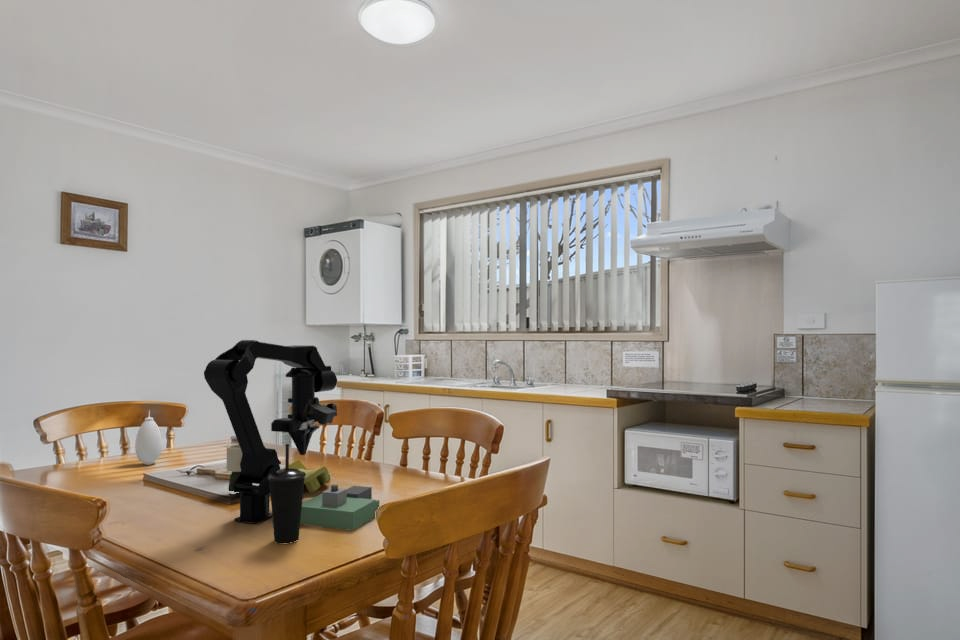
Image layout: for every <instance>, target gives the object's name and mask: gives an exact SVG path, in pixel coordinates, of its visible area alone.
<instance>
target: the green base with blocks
mask: <svg viewBox="0 0 960 640" xmlns="http://www.w3.org/2000/svg"><path fill="white" fill-rule="evenodd" d="M347 489H348V488H339V484H331V485H330V488H328V489H326V490H324V491H322V492H321V493H320V494H318V495H316V496H314V497H312V498H310V499H307V500H305V501H302V509H301V520H300V525H302V524H305V525H304V526H311V525H313V526H312V527H320V526H321V528H329V529H330V528H331V529H337V528H338V529H337V530H346V529H347V530H348V531H355V530H357V529H358V528H360V527H361V526H363V525H364V524H367V523H368V522H369V521H371V520H373V519H374V518H376V517H375V511H376V512H377V510H378V509H377V508H378V507H379V508H380V500H379V499H363V498H353V497H347ZM376 509H377V510H376ZM354 529H355V530H354Z"/></svg>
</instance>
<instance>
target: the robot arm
mask: <svg viewBox="0 0 960 640" xmlns="http://www.w3.org/2000/svg"><path fill="white" fill-rule="evenodd" d="M257 359H262V360H269V361H277V362H282V363H283V364H284V365H287V366H289V367H291V369H289V371H288V372H286V374H285V378H291V397H289V398H288V399H287V403H291V412H290V414H287V417H282V418H276V419H273V420H272V422H271V424H270V428H271V429H270V431H271V432H280V433H288V434H289V436H290V438H291V440H292V442H293V444H294V445H295V447H296V449H297V452H298V454H299V455H300V456H305V455H306V454H307V451H308V447H309V445H310V442H311V438H312V436H313V434H314V432H316V431H317V430H318V429H320V427H321V426H320V425H322V426H323V425H325V426H326V425H327V424H333V421H334V418H335V417H337V416H338V409H337V408H338V407H337V404H335V403H334V402H330V403H329V402H328V403H327V404H326V405H325V404H320V398H319V397H317V396H316V395H315V393H320V392H321V393H322V392H328V391H333V390H334V389H335V388H336V386H337V384H338V378H337V375H336V373H335V372H334V371H333V370H332V366H331V365H326V364H325V362H324V361H323V358H322V356H321V355H320V352H319V351H318V347H316V346H315V345H282V344H281V345H280V344H276V343H270V342H269V343H268V342H263V341H262V342H261V341H259V340H256V339H243V340H240V341H238V342H236V343H235V344H234V345H233V347H231V348H229V349H227V350H225V351H224V352H222V353H220V354H219V355H218V356H217V357H216V358H215V359H212V360H210V361H209V362H208V363H207V365H206V366H205V369H204V371H203V376H204V379H205V381H206V383H207V385H208V386H209V388H210V390H211V391H212V392H213V393H214V394H215V395H216V396H217V397H218V398H220V399H221V401H222V403H223V405H224V408H225V411H226V413H227V416H228V418H229V422H230V424H231V427H232V429H233V432H234V435H235V436H236V440H237V442H238V443H237V444H239V446H240V448H241V451H242V458H241V462H240V468H241V472H240V473H239V475H238V476H237V478H236V479H235V481H234V482H233V484H232V487H233V490H234V492H239V493H242V494H239V516H237V517H236V518H234V519H233V520H234V522H240V523H241V522H242V523H249V524H259V523H262V522H264V521H266V520H268V519H272V512H270V495H271V494H270V483H269V479H268V475H270V474H272V473H274V472H275V471H278V470H280V469H281V464H282V462H281V460H280V459H279V456H278V452H277V450H276V449H275V448H266V447H265V444H264V442H263V440H262V436H261V434H260V430H259V429H258V425H257V423H256V420H255V417H254V414H253V412H252V409H251V406H250V403H249V400H248V397H247V395H246V391H247V388H248V384H249V381H248V374H249V373H250V372H251V371H252V370H253V369H254V366H255V363H256V360H257ZM316 422H317V424H319V425H316ZM252 484H253V485H252ZM254 484H255V485H254Z"/></svg>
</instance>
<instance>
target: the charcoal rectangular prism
mask: <svg viewBox="0 0 960 640" xmlns="http://www.w3.org/2000/svg"><path fill="white" fill-rule="evenodd" d="M346 489H347V497H353V498H363V499H372V497H373V496H372V491H373V489H372V487H371V486H360V485H352V486H350V487H348V488H346Z"/></svg>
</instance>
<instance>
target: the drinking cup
mask: <svg viewBox="0 0 960 640" xmlns="http://www.w3.org/2000/svg"><path fill="white" fill-rule="evenodd" d="M289 464H290V444H289V443H286V444H285V466H284V467H285V469H283V468H280V470H278V471H275V472H274V473H272V474H270V475H268V479H269V483H270V494H269V495H270V503H271V505H270V506H271V513H272V517H271V519H272V526H273V539H274V540H273V541H274V543H275V542H277V543H276V544H278V543H289V544H291V543H290V542H293V543H295V542H294V541H296V540H298V541H299V539H300V538H299V537H300V528H301V524H300V520H301V509H302V503H303V497H304V488H305V487H304V485H305V484H304V478H305V477H306V473H305V472H302V471H300V470H297V469H292V468H289ZM296 542H297V541H296Z"/></svg>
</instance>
